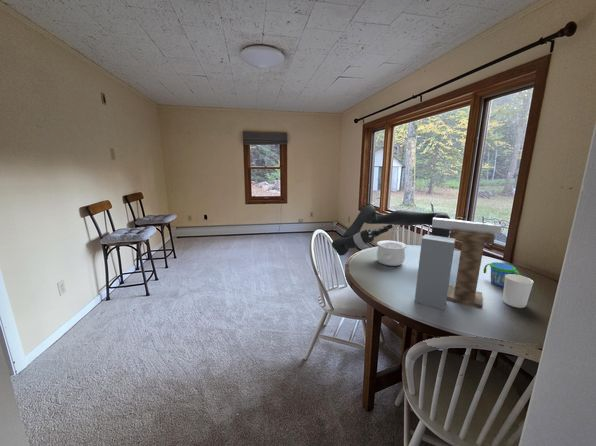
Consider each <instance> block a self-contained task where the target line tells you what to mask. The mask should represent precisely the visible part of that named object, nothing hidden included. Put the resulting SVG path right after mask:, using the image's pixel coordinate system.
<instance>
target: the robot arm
mask: <svg viewBox="0 0 596 446" xmlns="http://www.w3.org/2000/svg"><path fill="white" fill-rule="evenodd" d="M433 218H444V219H451V217H450V215H449V214H447V213H445V212H443V211H442V212H440V211H439V212H421V211H420V212H419V211H412V210H401V209H399V210H395V211H391V212H389V213H386V214H378V213H377V209H376V208H375V206H373V205H369V204H368V205H365V206H363V207H362V208H361V210H360V211H359V212H358V215H357V216H356V217H355V219H354V221H353V222H352V224H351V225H350V226H349V227H348V228H347V230H346V231H345V232H344V233H343V234H342V236H341V237H338V238H335V239H333V241H332V242H331V247H332V248H333V249H334V251H335V252H336V253H337V255H338V256H345V255H346V254H347V253H348V252H349V249H352V250H353V249H355V248H358V247H360V246H364V245H366V244H369V243H371V242H372V243H373V242H374V240H375V238H377V237H379V236H380V235H382V234H384V233H387V232H388V231H389V230H390V229H393V227H394V226H393V225H395V226H406V227H408V226H409V227H410V226H418V225H419V226H420V225H424V226H431V234H430V235H434V236H441V237H448V238H449V237H450V231H451V229H443V228H435V227H432V221H433ZM364 224H367V225H383V226H381V227H378V228H374V229H369V228H366V229H364V230H362V228H363V226H364ZM385 225H386V226H385ZM361 230H362V231H361Z"/></svg>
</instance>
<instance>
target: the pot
mask: <svg viewBox="0 0 596 446" xmlns="http://www.w3.org/2000/svg"><path fill="white" fill-rule="evenodd" d="M376 245H377V246H378V247H377V251H376V259H377V261H378V262H379V263H380V264H382V265H385V266H393V267H394V266H396V267H397V266H400V265H402V264H404V262H405V259H406V251H405V249H406V248H407V244H406V243H404V242H401V241H397V240H386V239H385V240H380V241H377V242H376Z"/></svg>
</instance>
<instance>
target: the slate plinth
mask: <svg viewBox="0 0 596 446" xmlns="http://www.w3.org/2000/svg"><path fill="white" fill-rule="evenodd" d="M455 244H456V239H455V238H448V237H441V236H434V235H431V234H424V235H423V236H422V237H421V244H420V253H419V260H418V268H417V276H416V285H415V286H416V287H415V295H414V302H415V303H416V304H420V305H425V306H428V307H431V308H436V309H439V310H442V311H445V309H446V304H447V301H448V300H447V293H448V286H449V285H450V279H451V272H452V266H453V265H452V264H453V258H454V251H455Z"/></svg>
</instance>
